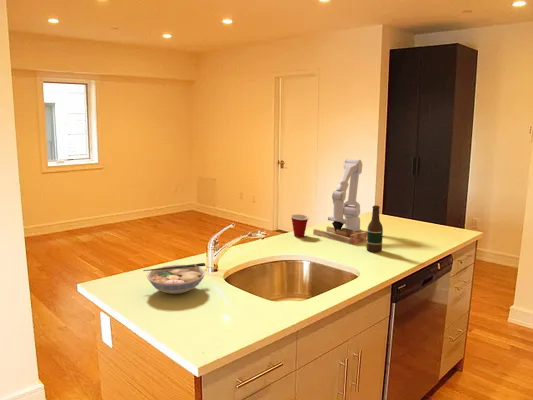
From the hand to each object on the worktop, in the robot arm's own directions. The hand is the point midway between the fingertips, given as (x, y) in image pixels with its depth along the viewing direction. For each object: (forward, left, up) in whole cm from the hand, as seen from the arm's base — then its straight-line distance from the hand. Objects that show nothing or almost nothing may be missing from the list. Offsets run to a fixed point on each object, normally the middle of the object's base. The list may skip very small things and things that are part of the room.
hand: (337, 234), depth 267 cm
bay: (0, 0, -2) cm, 2 cm away
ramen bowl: (+115, +17, -2) cm, 116 cm away
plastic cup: (+16, -16, -2) cm, 22 cm away
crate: (0, +5, -2) cm, 5 cm away
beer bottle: (+7, +31, -2) cm, 32 cm away
